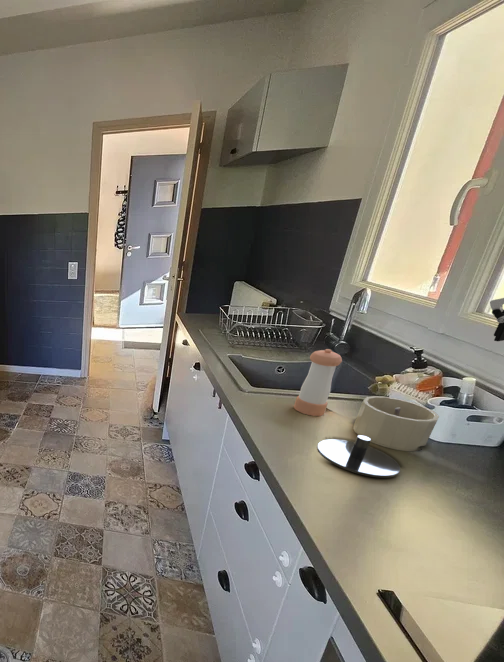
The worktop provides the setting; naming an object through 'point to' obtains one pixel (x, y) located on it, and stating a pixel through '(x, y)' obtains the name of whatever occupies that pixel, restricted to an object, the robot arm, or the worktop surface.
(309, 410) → the pepper shaker
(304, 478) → the worktop surface
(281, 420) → the worktop surface
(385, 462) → the lid
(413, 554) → the worktop surface
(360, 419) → the bowl
